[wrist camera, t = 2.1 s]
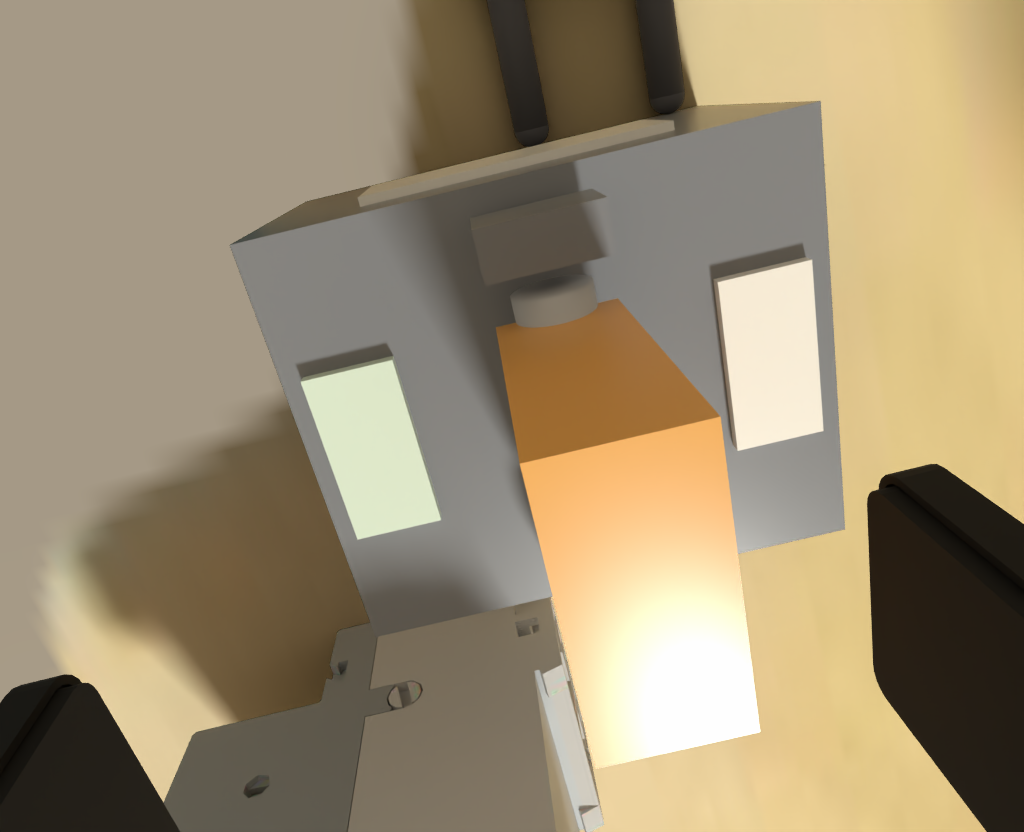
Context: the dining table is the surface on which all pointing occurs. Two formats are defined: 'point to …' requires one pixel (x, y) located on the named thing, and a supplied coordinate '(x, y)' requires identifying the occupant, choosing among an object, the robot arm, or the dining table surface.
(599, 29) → the dining table surface
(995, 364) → the dining table surface
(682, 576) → the lever
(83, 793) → the robot arm
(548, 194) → the panel
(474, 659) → the circuit breaker
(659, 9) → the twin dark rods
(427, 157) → the dining table surface
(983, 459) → the dining table surface
